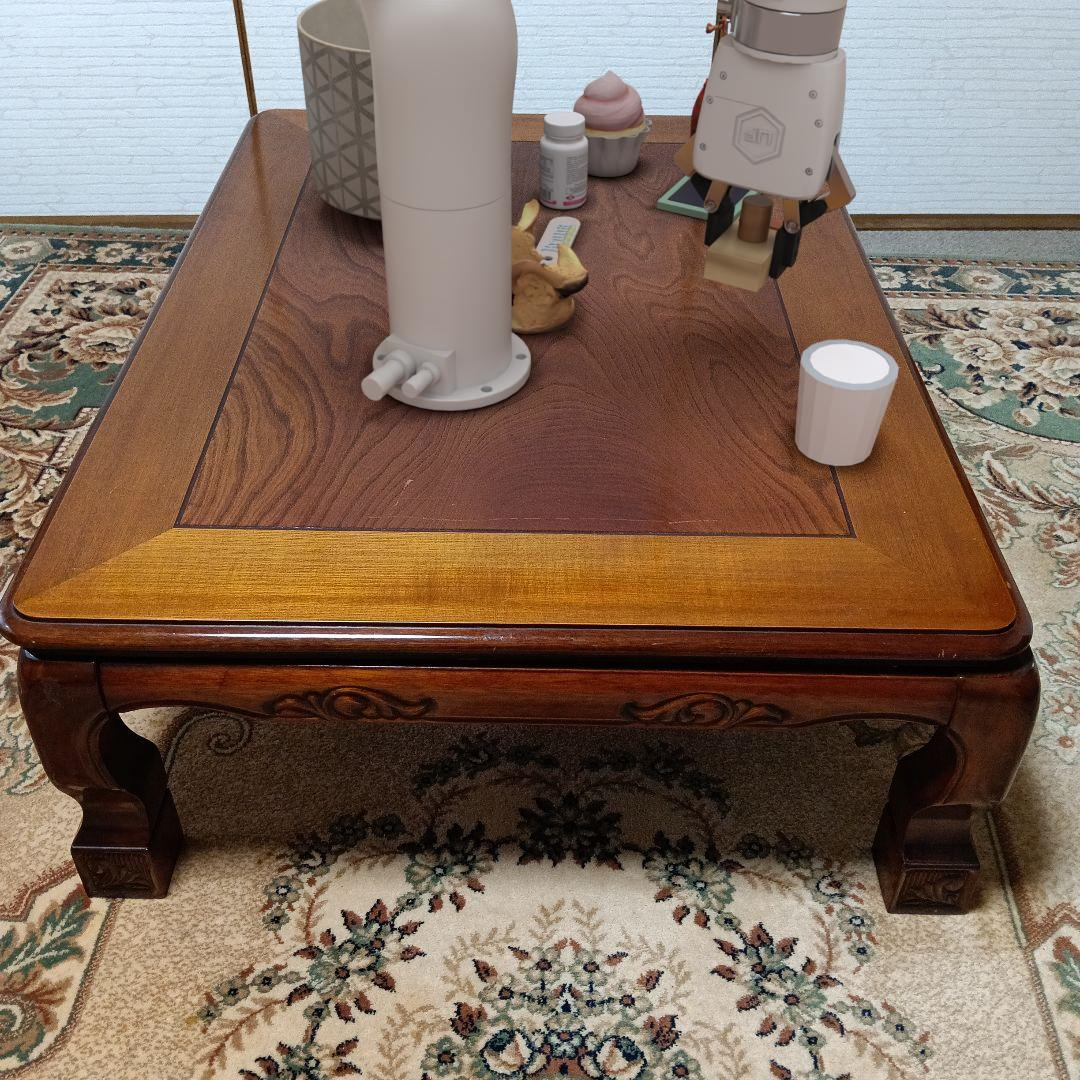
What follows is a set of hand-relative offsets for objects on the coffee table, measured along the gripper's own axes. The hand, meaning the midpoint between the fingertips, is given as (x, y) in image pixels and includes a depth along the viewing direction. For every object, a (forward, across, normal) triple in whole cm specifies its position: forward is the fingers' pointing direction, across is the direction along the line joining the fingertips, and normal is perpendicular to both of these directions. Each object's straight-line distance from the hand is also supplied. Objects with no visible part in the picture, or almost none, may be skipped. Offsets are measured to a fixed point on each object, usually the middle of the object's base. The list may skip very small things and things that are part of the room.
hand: (748, 261), depth 96 cm
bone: (+8, -17, -4) cm, 19 cm away
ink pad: (+7, -12, +26) cm, 29 cm away
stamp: (0, 0, 0) cm, 0 cm away
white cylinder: (+7, +12, -10) cm, 17 cm away
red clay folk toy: (+7, -15, +36) cm, 39 cm away
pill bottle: (+8, -25, +18) cm, 32 cm away
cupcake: (+8, -25, +28) cm, 38 cm away
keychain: (+8, -21, +9) cm, 24 cm away
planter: (+8, -37, +9) cm, 39 cm away
